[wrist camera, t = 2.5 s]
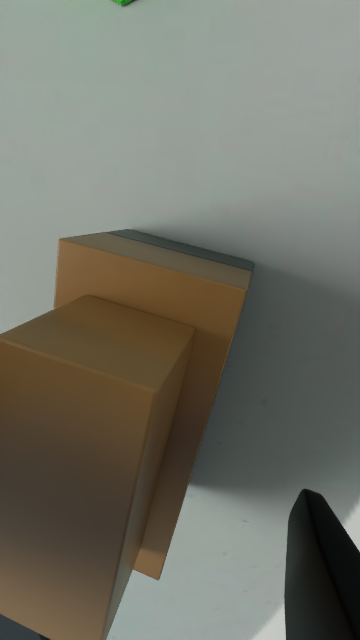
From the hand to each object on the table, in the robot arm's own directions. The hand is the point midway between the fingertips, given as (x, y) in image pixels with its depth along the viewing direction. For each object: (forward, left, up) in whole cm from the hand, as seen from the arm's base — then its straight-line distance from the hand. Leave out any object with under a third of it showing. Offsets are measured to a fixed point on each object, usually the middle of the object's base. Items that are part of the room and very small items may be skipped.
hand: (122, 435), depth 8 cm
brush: (0, 0, -3) cm, 3 cm away
